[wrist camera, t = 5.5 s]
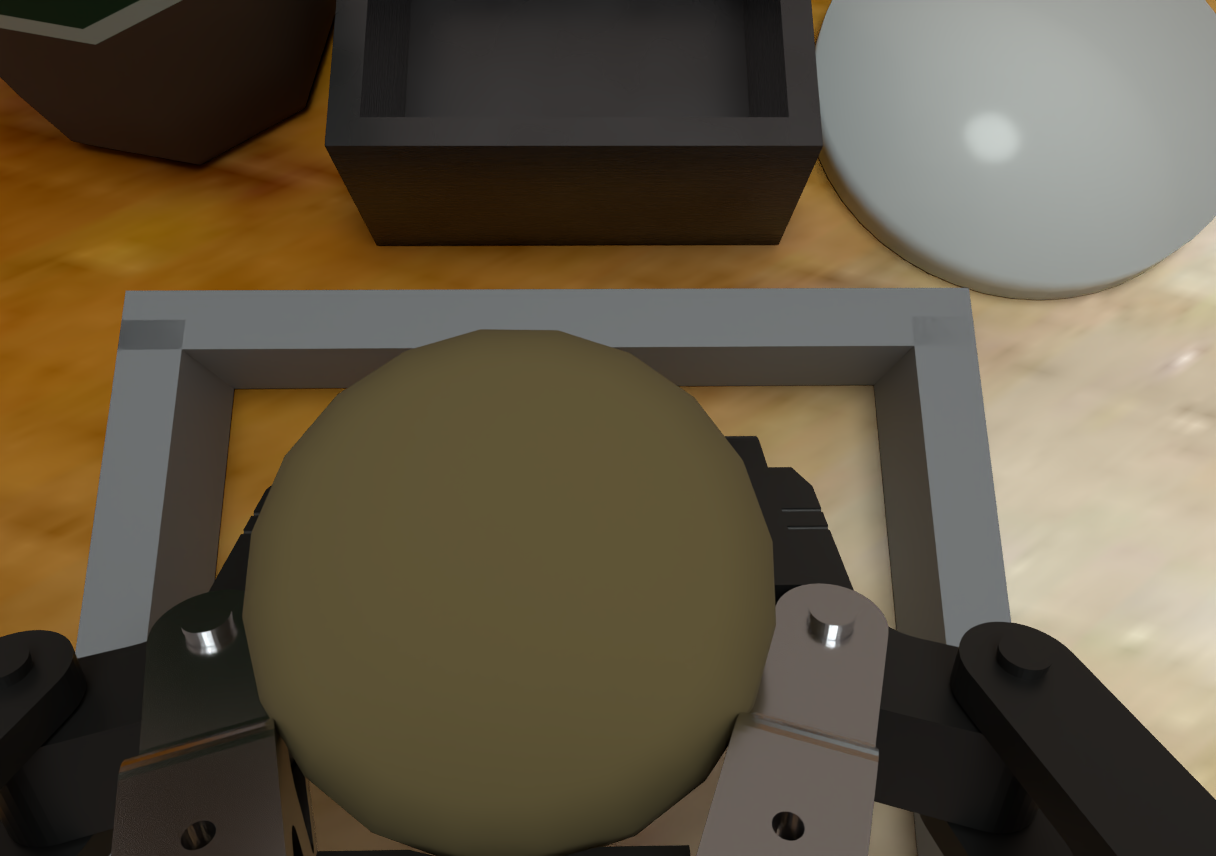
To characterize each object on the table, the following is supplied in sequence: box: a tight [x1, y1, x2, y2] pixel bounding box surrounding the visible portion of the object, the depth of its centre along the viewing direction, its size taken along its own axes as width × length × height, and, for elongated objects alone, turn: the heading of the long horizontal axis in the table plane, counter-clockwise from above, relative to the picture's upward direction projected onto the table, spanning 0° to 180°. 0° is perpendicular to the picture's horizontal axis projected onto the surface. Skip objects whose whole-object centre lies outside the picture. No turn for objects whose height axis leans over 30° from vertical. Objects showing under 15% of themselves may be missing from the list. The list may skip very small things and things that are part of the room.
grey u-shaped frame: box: [75, 288, 1011, 856], centre depth 17 cm, size 16×12×2 cm
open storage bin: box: [325, 0, 823, 245], centre depth 19 cm, size 9×9×4 cm
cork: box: [242, 329, 776, 856], centre depth 13 cm, size 6×6×11 cm
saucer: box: [815, 0, 1216, 300], centre depth 21 cm, size 10×10×1 cm
